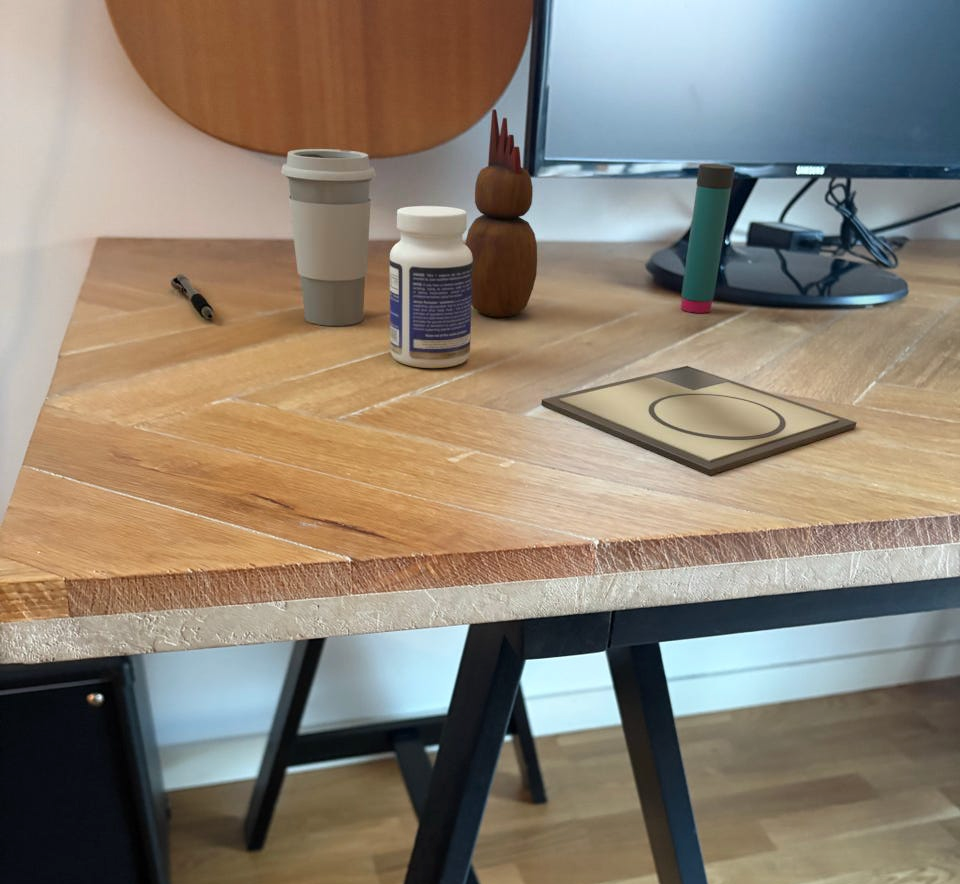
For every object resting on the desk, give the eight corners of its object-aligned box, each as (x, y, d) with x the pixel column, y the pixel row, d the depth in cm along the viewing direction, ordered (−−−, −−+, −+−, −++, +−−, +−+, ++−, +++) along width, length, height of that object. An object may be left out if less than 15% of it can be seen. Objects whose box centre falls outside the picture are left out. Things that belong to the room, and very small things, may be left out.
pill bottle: (484, 356, 72) (490, 209, 67) (442, 375, 68) (445, 220, 63) (418, 343, 75) (419, 200, 70) (374, 360, 71) (371, 209, 65)
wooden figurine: (457, 302, 86) (462, 106, 78) (522, 302, 87) (533, 109, 79) (471, 322, 81) (478, 114, 73) (540, 322, 82) (554, 116, 74)
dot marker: (693, 304, 89) (714, 163, 83) (719, 311, 87) (742, 167, 81) (672, 308, 88) (691, 164, 82) (697, 315, 86) (719, 168, 80)
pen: (167, 284, 87) (165, 271, 87) (186, 283, 88) (185, 270, 87) (196, 324, 77) (194, 309, 76) (218, 323, 77) (216, 308, 77)
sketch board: (685, 371, 71) (687, 363, 71) (855, 428, 62) (857, 419, 62) (541, 405, 64) (541, 396, 63) (710, 475, 55) (712, 466, 54)
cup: (392, 315, 82) (391, 153, 75) (353, 334, 76) (349, 161, 70) (316, 304, 84) (309, 146, 77) (273, 321, 78) (262, 153, 72)
